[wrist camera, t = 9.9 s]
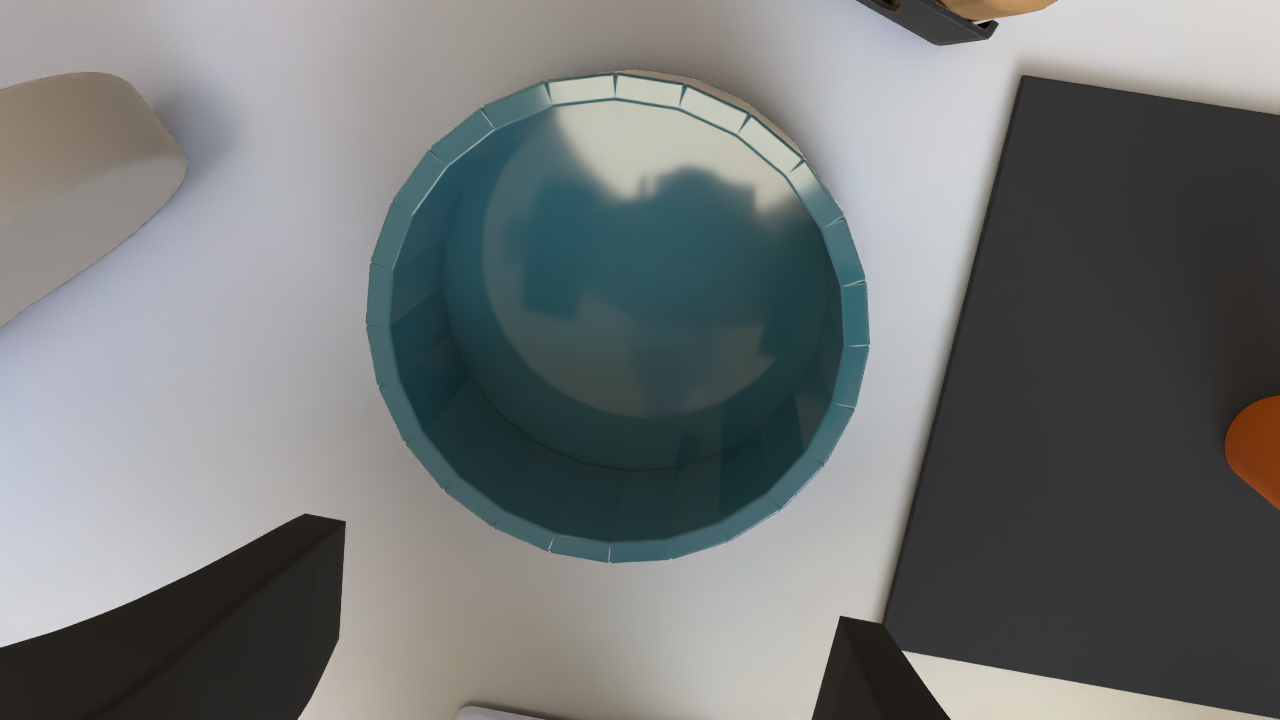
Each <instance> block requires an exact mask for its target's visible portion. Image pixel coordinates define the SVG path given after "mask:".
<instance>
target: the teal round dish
mask: <svg viewBox="0 0 1280 720" xmlns="http://www.w3.org/2000/svg"><path fill="white" fill-rule="evenodd" d="M371 262H372V263H371V264H370V271H369V285H368V300H367V314H366V324H367V327H366V329H367V334H368V339H369V344H370V350H371V355H372V360H373V365H374V370H375V375H376V380H377V384H378V386H379V390H380V392H381V395H382V397H383V399H384V401H385V403H386V405H387V407H388V409H389V411H390V414H391V416H392V418H393V420H394V422H395V424H396V426H397V428H398V430H399V432H400V435H401V437H402V439H403V441H406V445H407V447H408V448H409V449H410V450H411V451H412V453H413V454H414V455H415V456H416V457H417V459H418V460H419V461H420V462H421V464H422V465H423V466H424V467H425V468H426V470H427V471H428V472H429V473H430V474H431V476H432V477H433V478H434V479H435V481H436V482H437V483H438V484H439V485H440V487H441V488H442V489H445V492H446V493H448V494H449V495H450V496H451V497H453V498H454V499H455V500H457V501H458V502H459V503H461V504H462V505H463V506H465V507H466V508H467V509H469V510H470V511H471V512H473V513H474V514H475V515H477V516H478V517H479V518H481V519H482V520H483V521H485V522H486V523H487V524H489V525H490V526H492V527H493V526H494V528H495V529H497V530H499V531H502V532H504V533H506V534H509V535H511V536H513V537H515V538H518V539H520V540H522V541H525V542H527V543H529V544H531V545H534V546H536V547H538V548H541V549H543V550H545V551H551V552H552V553H556V554H561V555H567V556H573V557H578V558H584V559H589V560H595V561H600V562H606V563H609V562H611V563H623V562H640V561H658V560H669V559H670V558H672V559H675V558H678V557H681V556H685V555H688V554H691V553H694V552H698V551H701V550H704V549H707V548H711V547H714V546H717V545H720V544H723V543H727V542H728V541H729V540H733V539H735V538H736V537H738V536H740V535H741V534H743V533H744V532H746V531H748V530H749V529H751V528H753V527H754V526H756V525H758V524H759V523H761V522H762V521H764V520H766V519H767V518H769V517H771V516H772V515H774V514H776V513H777V512H779V511H780V510H781V508H782V509H783V508H784V507H785V506H786V505H787V504H788V503H789V502H790V501H791V500H792V499H793V498H794V497H795V496H796V495H797V494H798V493H799V492H800V491H801V490H802V489H803V487H804V486H805V485H806V484H807V483H808V482H809V481H810V480H811V479H812V478H813V477H814V476H815V475H816V474H817V473H818V472H819V471H820V470H821V469H822V468H823V467H824V463H826V462H827V461H828V459H829V457H830V455H831V453H832V451H833V450H834V448H835V446H836V444H837V442H838V440H839V439H840V437H841V435H842V433H843V431H844V429H845V427H846V426H847V424H848V422H849V420H850V418H851V416H852V415H853V413H854V408H855V407H856V405H857V400H858V396H859V391H860V387H861V383H862V378H863V374H864V370H865V365H866V361H867V357H868V352H869V347H868V346H869V344H870V339H869V319H868V299H867V283H866V281H865V274H864V271H863V268H862V265H861V262H860V260H859V257H858V254H857V251H856V248H855V245H854V242H853V239H852V236H851V233H850V230H849V227H848V224H847V221H846V219H845V217H844V215H843V213H842V211H841V210H840V208H839V207H838V205H837V204H836V202H835V201H834V199H833V198H832V196H831V195H830V193H829V192H828V190H827V188H826V187H825V186H824V184H823V183H822V181H821V180H820V178H819V177H818V175H817V174H816V172H815V171H814V169H813V168H812V167H811V165H810V164H809V162H808V161H807V159H806V158H805V156H804V155H803V153H802V152H801V150H800V149H799V147H798V146H797V145H796V143H794V142H793V140H792V139H791V138H790V137H788V136H787V135H786V134H785V133H784V132H782V131H781V130H780V129H779V128H778V127H777V126H776V125H775V124H773V123H772V122H771V121H770V120H769V119H767V118H766V117H765V116H763V115H762V114H761V113H760V112H759V111H758V110H756V109H755V108H754V107H753V106H752V105H748V103H747V102H745V101H743V100H741V99H739V98H737V97H734V96H732V95H730V94H728V93H726V92H725V91H723V90H721V89H718V88H715V87H713V86H710V85H708V84H706V83H704V82H702V81H699V80H697V79H693V78H690V77H684V76H678V75H672V74H668V73H659V72H652V71H646V70H640V69H636V70H634V69H628V70H620V71H611V72H603V73H594V74H585V75H577V76H570V77H563V78H556V79H549V80H547V81H542V82H539V83H537V84H534V85H532V86H530V87H527V88H525V89H522V90H520V91H518V92H515V93H513V94H510V95H508V96H505V97H503V98H501V99H498V100H496V101H493V102H491V103H489V104H486V105H485V106H484V107H482V108H479V109H478V110H477V111H475V112H474V113H473V114H472V115H470V116H469V117H468V118H467V119H465V120H464V121H463V122H462V123H460V124H459V125H458V126H457V127H455V128H454V129H453V130H452V131H450V132H449V133H448V134H447V135H445V136H444V137H443V138H441V139H440V140H439V141H438V142H436V143H435V144H434V145H433V146H432V147H431V149H430V150H428V151H427V152H426V154H425V155H424V157H423V158H422V159H421V161H420V162H419V164H418V165H417V166H416V168H415V169H414V171H413V172H412V173H411V175H410V176H409V178H408V179H407V180H406V182H405V183H404V185H403V186H402V187H401V189H400V190H399V192H398V193H397V194H396V196H395V197H394V199H393V202H392V203H391V204H390V207H389V210H388V213H387V216H386V218H385V221H384V224H383V227H382V230H381V233H380V235H379V238H378V241H377V244H376V247H375V249H374V252H373V255H372V258H371Z"/></svg>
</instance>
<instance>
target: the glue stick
mask: <svg viewBox="0 0 1280 720" xmlns="http://www.w3.org/2000/svg"><path fill="white" fill-rule="evenodd" d="M1225 455H1226V458H1227V461H1228V463H1229V465H1230V467H1231V468H1232V470H1233V471H1234V472H1235V473H1236V474H1237V475H1238V476H1239V477H1241V478H1242V479H1243V480H1244V481H1245V482H1246V483H1248V484H1249V485H1250V486H1251V487H1252V488H1254V489H1255V490H1256V491H1257V492H1258V493H1260V494H1261V495H1262V496H1263V497H1264V498H1265V499H1267V500H1268V501H1269V502H1270V503H1271V504H1273V505H1274V506H1275V507H1276V508H1277V509H1279V510H1280V396H1272V397H1267V398H1264V399H1261V400H1258V401H1256V402H1254V403H1252V404H1251V405H1249V406H1248V407H1246V408H1245V409H1244V410H1242V411H1241V412H1240V413H1239V414H1238V415H1237V416H1236V418H1235V419H1234V420H1233V421H1232V423H1231V425H1230V427H1229V429H1228V431H1227V434H1226V438H1225Z"/></svg>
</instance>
